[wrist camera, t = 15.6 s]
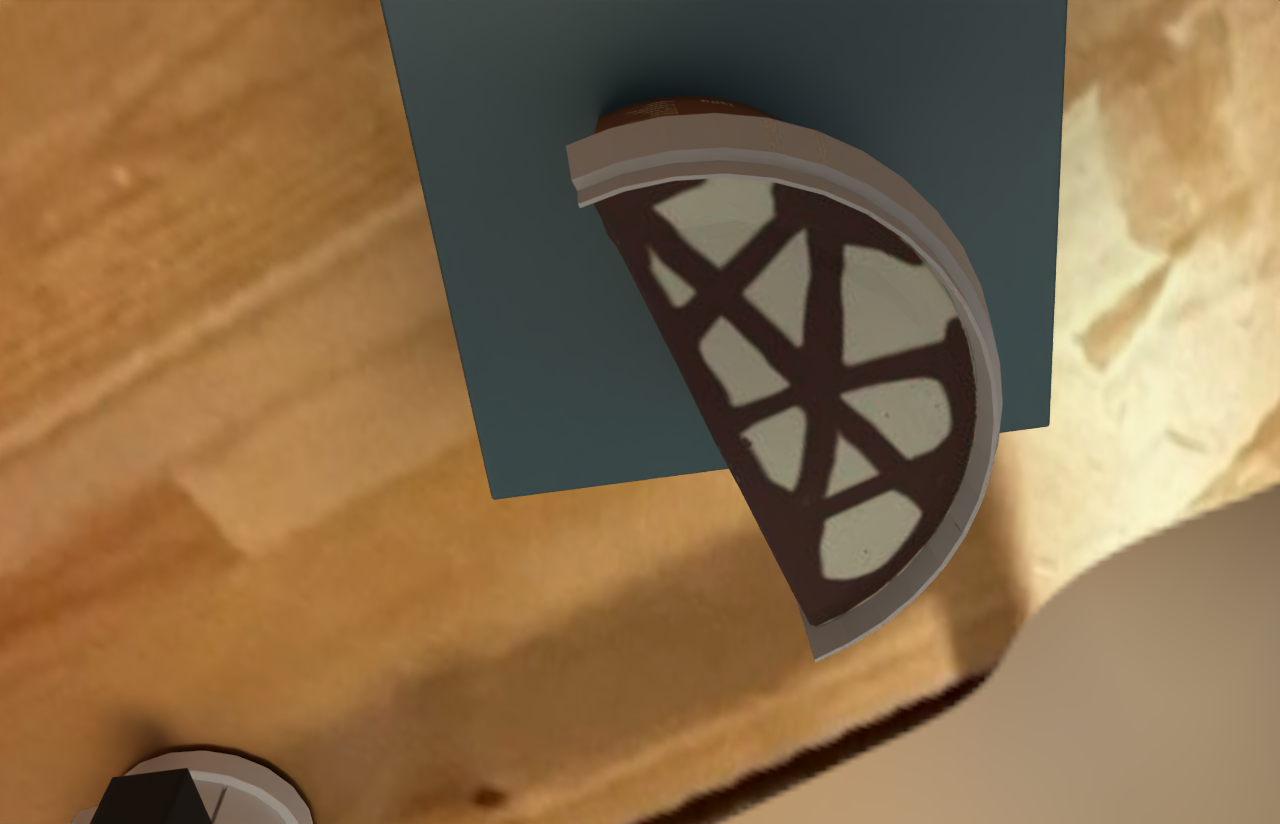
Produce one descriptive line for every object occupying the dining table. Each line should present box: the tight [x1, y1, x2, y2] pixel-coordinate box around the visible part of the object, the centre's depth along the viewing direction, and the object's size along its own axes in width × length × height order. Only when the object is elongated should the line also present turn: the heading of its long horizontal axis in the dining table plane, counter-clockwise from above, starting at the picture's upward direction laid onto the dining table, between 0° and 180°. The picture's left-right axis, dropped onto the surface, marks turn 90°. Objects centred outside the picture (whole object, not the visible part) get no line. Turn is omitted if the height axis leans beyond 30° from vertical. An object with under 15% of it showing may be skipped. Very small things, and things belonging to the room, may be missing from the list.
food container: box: [566, 95, 1003, 662], centre depth 26 cm, size 12×6×10 cm, turn 25°
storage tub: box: [380, 0, 1067, 500], centre depth 34 cm, size 17×15×7 cm
